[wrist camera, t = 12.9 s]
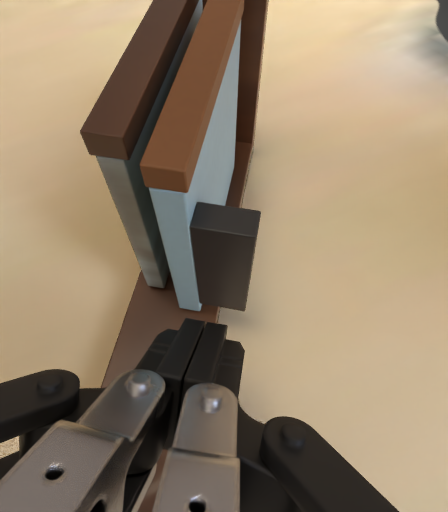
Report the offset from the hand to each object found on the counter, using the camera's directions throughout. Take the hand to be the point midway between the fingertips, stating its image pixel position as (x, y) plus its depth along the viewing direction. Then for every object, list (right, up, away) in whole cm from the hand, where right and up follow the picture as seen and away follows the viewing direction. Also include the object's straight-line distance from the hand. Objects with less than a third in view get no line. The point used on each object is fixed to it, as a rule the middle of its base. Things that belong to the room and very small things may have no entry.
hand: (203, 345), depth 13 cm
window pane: (+1, +5, +10) cm, 11 cm away
